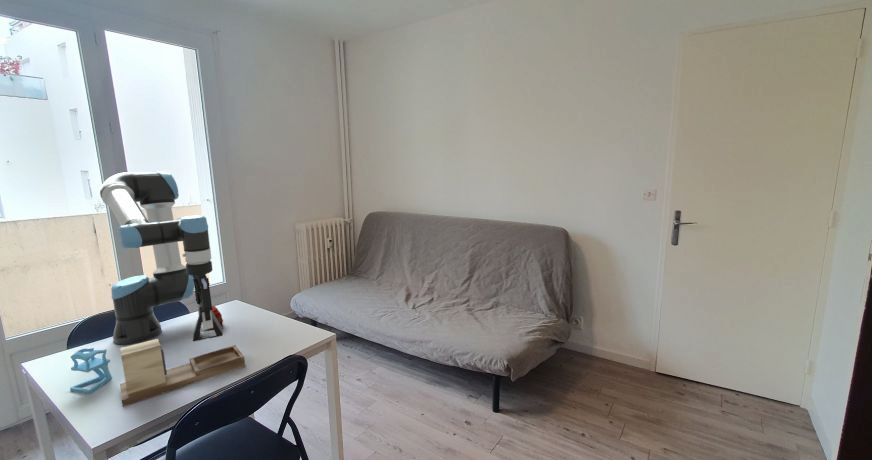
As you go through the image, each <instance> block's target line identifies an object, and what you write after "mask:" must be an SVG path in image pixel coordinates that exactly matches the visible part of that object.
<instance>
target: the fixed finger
mask: <svg viewBox="0 0 872 460" xmlns="http://www.w3.org/2000/svg"><path fill="white" fill-rule="evenodd" d="M119 349H120V350H119V351H120V356H121V357H120V358H121V363H122V367H123V373H124V380H125V382H126V386H127V392H128V394H130V393H134V392H137V391H140V390H143V389H146V388H149V387H152V386H156V385H159V384H162V383H165V382H166V380H165V375H167V371H166V370H167V366H166V359H165V351H164V349H163V345H162V344H160V341H159V338H154V339H151V340H150V339H149V340H145V341H141V342H137V343H133V344H131V345H130V344H129V345H127V346H122V347H120V348H119Z"/></svg>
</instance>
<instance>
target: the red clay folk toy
mask: <svg viewBox="0 0 872 460" xmlns="http://www.w3.org/2000/svg"><path fill="white" fill-rule="evenodd" d="M212 308H213V309H212V312H213V313H214V315H215V317H216V318H217V320H218V322H219V323H220V325H221V327H222V326H223V323H224V319H223V317H222V316H223V315H222V313H221V312H220V311H219V309H218V308H217V307H216V306H215V305H212ZM211 330H214V329H213V328H210V329H206V331H211Z"/></svg>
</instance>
